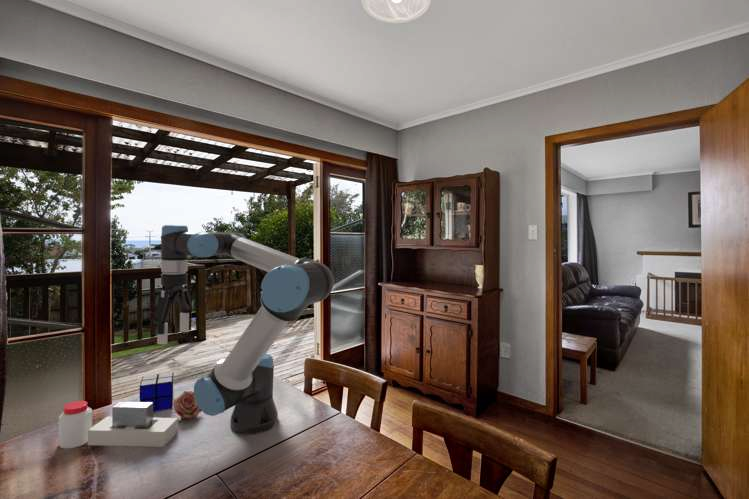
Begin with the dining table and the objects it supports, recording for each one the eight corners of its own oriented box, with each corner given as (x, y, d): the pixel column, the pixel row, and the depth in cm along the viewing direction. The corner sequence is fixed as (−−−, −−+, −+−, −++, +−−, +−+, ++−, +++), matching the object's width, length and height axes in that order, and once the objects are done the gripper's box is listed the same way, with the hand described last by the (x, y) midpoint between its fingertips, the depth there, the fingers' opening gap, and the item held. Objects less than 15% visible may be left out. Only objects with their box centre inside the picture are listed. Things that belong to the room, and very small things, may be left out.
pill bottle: (73, 450, 105) (73, 412, 104) (51, 446, 106) (51, 409, 106) (98, 435, 112) (98, 400, 112) (78, 432, 114) (78, 397, 113)
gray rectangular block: (152, 433, 114) (153, 402, 113) (146, 440, 110) (146, 407, 110) (120, 433, 113) (120, 401, 113) (112, 439, 110) (112, 407, 109)
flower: (163, 413, 124) (169, 399, 120) (185, 397, 132) (192, 383, 129) (182, 433, 122) (189, 419, 119) (204, 415, 130) (211, 402, 127)
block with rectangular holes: (177, 431, 116) (177, 418, 116) (163, 446, 108) (163, 431, 108) (107, 430, 116) (107, 416, 115) (87, 445, 108) (87, 430, 107)
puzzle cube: (139, 414, 126) (139, 386, 125) (142, 402, 135) (142, 375, 134) (172, 409, 131) (172, 381, 130) (173, 397, 139) (173, 371, 139)
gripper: (182, 268, 131) (181, 327, 132) (138, 277, 106) (138, 349, 107) (203, 269, 131) (202, 327, 132) (165, 278, 106) (164, 350, 107)
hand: (174, 337), depth 120 cm, fingers open, 13 cm apart
